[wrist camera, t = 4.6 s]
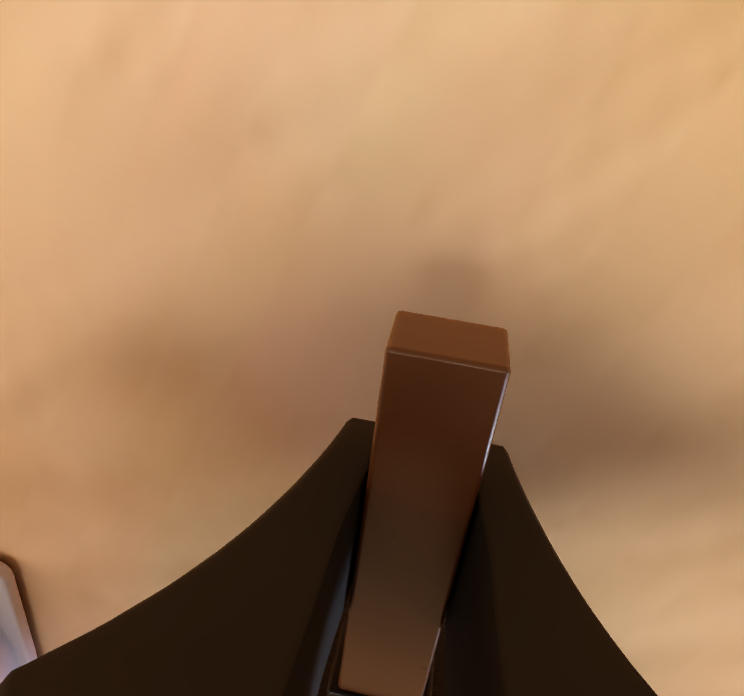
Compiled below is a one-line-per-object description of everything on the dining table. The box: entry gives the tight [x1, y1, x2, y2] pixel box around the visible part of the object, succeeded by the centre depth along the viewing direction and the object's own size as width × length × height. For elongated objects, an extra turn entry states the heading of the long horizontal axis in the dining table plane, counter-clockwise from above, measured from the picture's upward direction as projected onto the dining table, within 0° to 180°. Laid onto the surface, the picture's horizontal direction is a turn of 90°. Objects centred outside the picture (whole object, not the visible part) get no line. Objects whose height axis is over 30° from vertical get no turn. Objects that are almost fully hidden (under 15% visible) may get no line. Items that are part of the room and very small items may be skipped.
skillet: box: [317, 311, 511, 696], centre depth 14 cm, size 20×12×4 cm, turn 174°
